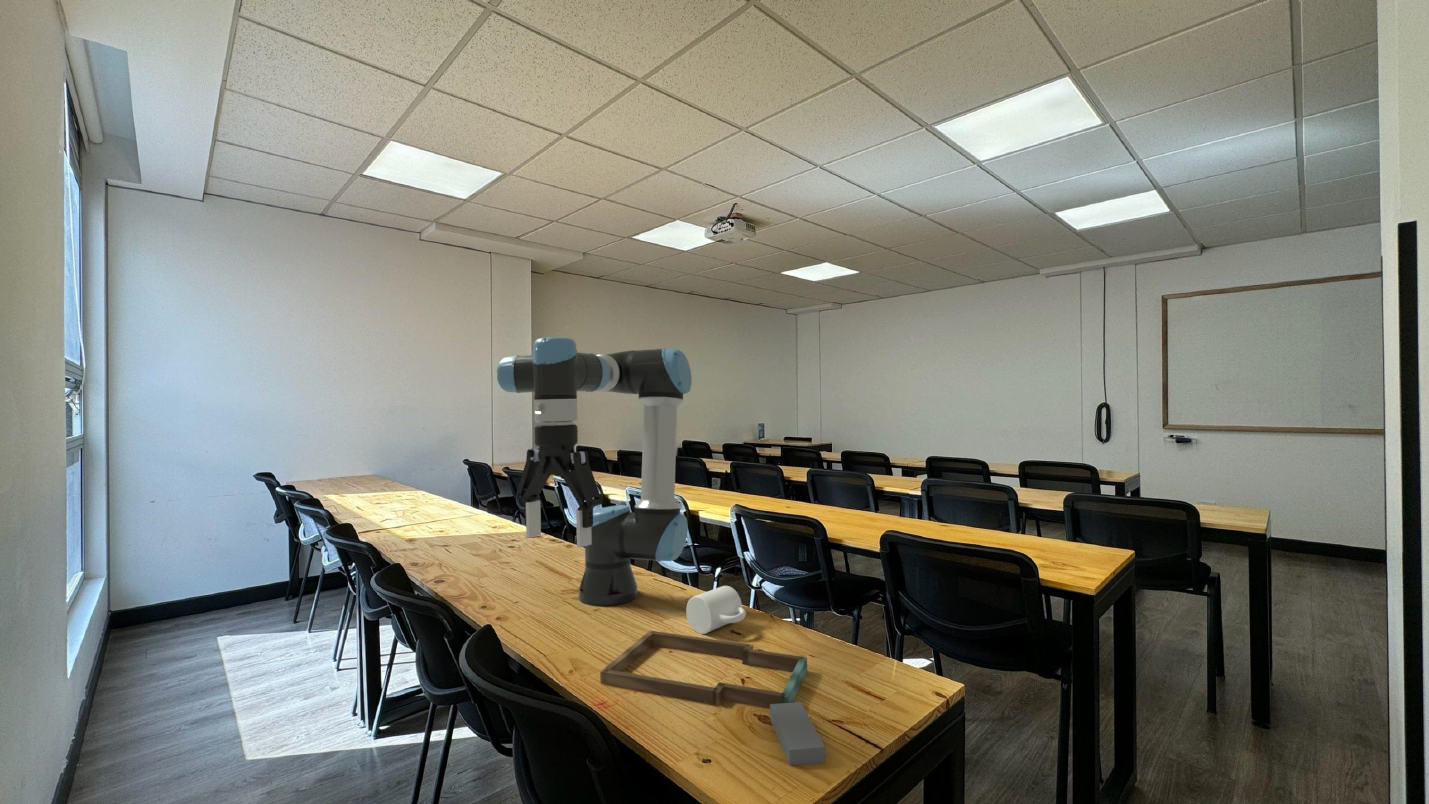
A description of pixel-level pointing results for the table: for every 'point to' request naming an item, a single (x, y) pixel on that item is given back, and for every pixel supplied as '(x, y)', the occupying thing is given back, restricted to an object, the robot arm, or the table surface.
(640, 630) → the table surface
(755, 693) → the keyhole corral
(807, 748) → the block
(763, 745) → the table surface
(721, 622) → the mug
